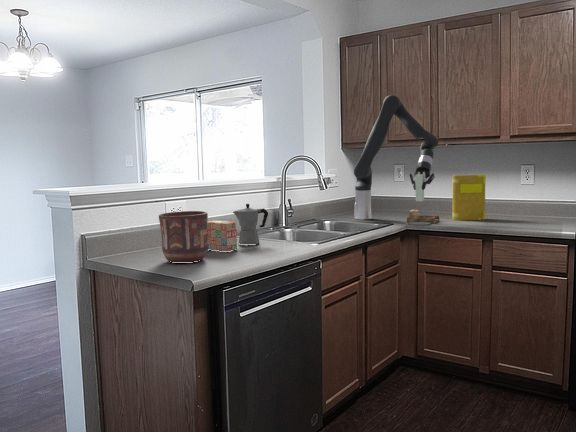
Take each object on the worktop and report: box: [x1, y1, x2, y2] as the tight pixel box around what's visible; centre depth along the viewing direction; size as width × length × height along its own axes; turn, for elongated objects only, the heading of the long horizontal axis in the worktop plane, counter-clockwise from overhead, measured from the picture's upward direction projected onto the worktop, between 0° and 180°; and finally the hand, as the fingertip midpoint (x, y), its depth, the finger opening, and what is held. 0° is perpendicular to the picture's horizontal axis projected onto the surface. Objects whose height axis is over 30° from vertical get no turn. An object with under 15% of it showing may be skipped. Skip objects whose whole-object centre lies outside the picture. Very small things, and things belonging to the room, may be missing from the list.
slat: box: [414, 174, 425, 202], centre depth 274 cm, size 4×4×14 cm
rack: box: [406, 214, 440, 225], centre depth 286 cm, size 15×12×3 cm
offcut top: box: [408, 209, 420, 217], centre depth 288 cm, size 4×8×2 cm, turn 155°
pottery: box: [158, 210, 209, 262], centre depth 192 cm, size 18×18×18 cm
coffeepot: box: [232, 203, 269, 244], centre depth 226 cm, size 15×9×18 cm, turn 92°
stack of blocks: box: [207, 219, 238, 251], centre depth 215 cm, size 21×6×12 cm, turn 55°
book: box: [451, 174, 487, 221], centre depth 290 cm, size 17×7×25 cm, turn 84°
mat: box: [408, 222, 432, 226], centre depth 277 cm, size 10×8×1 cm
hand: (418, 188), depth 273 cm, fingers closed on slat, 3 cm apart
